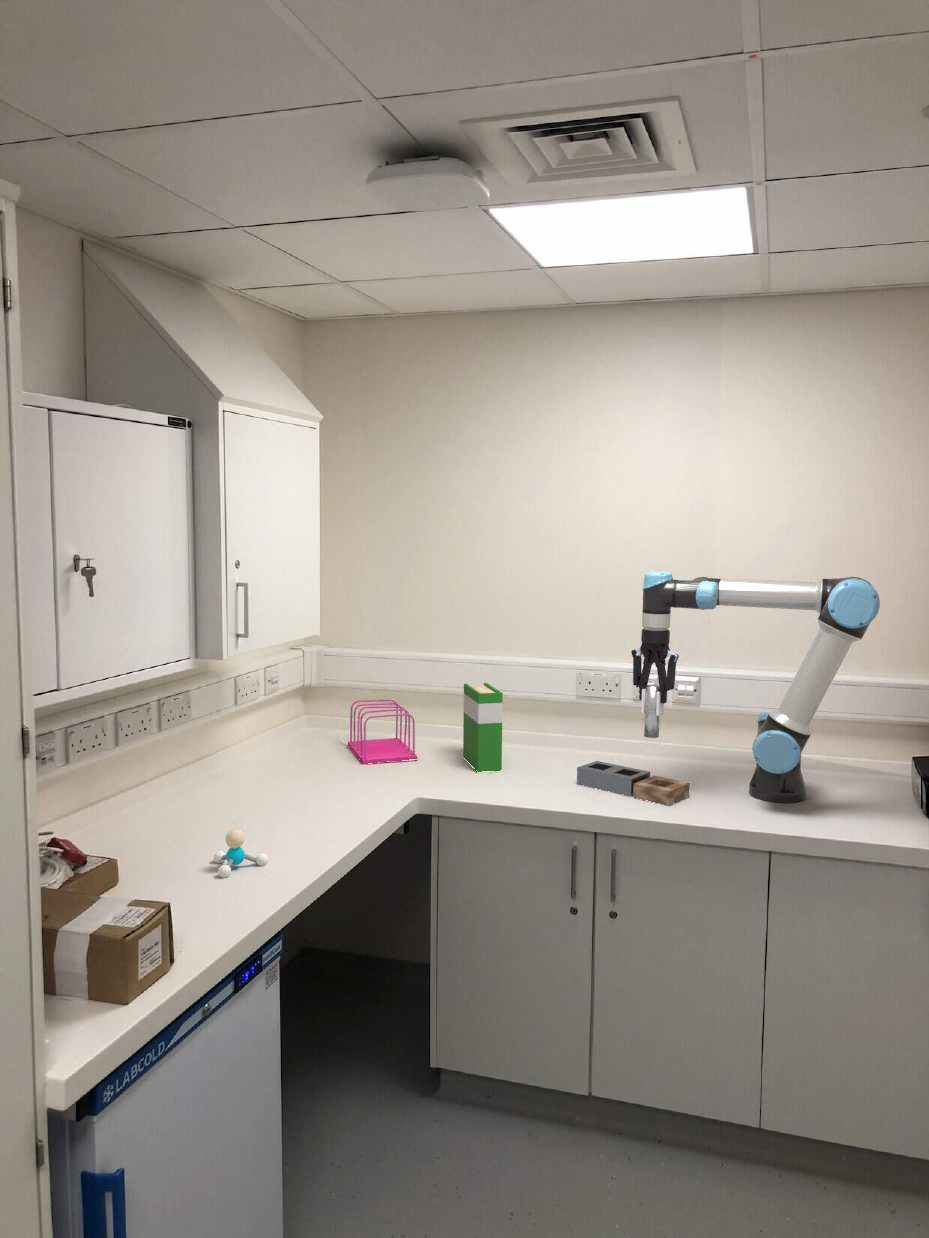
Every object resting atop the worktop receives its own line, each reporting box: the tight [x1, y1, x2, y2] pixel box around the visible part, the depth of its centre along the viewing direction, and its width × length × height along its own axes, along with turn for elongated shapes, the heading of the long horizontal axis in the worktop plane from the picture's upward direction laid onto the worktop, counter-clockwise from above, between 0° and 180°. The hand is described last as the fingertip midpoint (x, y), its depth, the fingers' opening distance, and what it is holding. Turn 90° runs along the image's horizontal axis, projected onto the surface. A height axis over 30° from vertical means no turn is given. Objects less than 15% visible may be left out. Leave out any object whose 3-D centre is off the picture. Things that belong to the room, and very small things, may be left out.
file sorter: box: [347, 699, 418, 765], centre depth 312 cm, size 17×25×16 cm
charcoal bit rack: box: [576, 760, 651, 798], centre depth 276 cm, size 18×10×5 cm, turn 49°
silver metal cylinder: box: [643, 684, 661, 739], centre depth 266 cm, size 4×4×14 cm
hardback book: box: [462, 682, 504, 772], centre depth 298 cm, size 18×7×24 cm, turn 14°
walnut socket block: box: [632, 775, 691, 807], centre depth 266 cm, size 11×11×4 cm
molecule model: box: [213, 829, 269, 879], centre depth 212 cm, size 12×12×9 cm
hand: (652, 713), depth 266 cm, fingers closed on silver metal cylinder, 4 cm apart
